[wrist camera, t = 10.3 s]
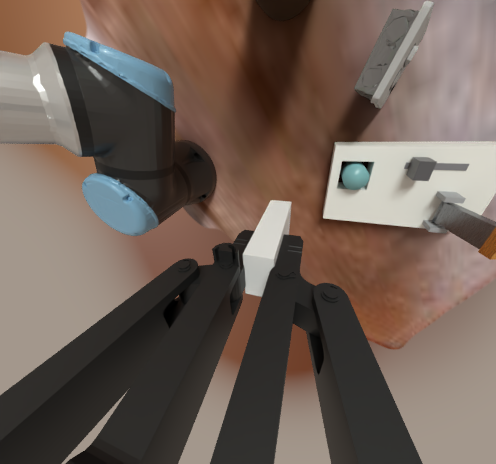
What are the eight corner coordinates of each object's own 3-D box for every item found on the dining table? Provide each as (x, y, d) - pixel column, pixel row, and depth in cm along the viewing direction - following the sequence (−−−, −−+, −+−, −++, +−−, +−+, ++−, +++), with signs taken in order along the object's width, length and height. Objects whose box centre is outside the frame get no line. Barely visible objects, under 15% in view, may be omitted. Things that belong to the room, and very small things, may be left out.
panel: (323, 210, 44) (322, 224, 39) (334, 142, 37) (336, 148, 31) (457, 222, 37) (479, 242, 32) (504, 141, 30) (544, 149, 24)
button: (339, 180, 39) (340, 189, 35) (343, 159, 37) (345, 166, 33) (361, 181, 38) (365, 190, 34) (367, 160, 36) (372, 167, 32)
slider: (406, 174, 32) (412, 180, 30) (412, 156, 31) (420, 161, 29) (420, 175, 32) (428, 181, 29) (428, 157, 30) (437, 161, 28)
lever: (427, 220, 34) (490, 259, 26) (437, 199, 32) (510, 233, 23) (438, 220, 34) (506, 258, 25) (450, 198, 32) (527, 232, 23)
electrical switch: (380, 109, 33) (389, 108, 25) (349, 99, 33) (350, 95, 26) (425, 32, 27) (454, 2, 20) (387, 22, 28) (401, -10, 21)
